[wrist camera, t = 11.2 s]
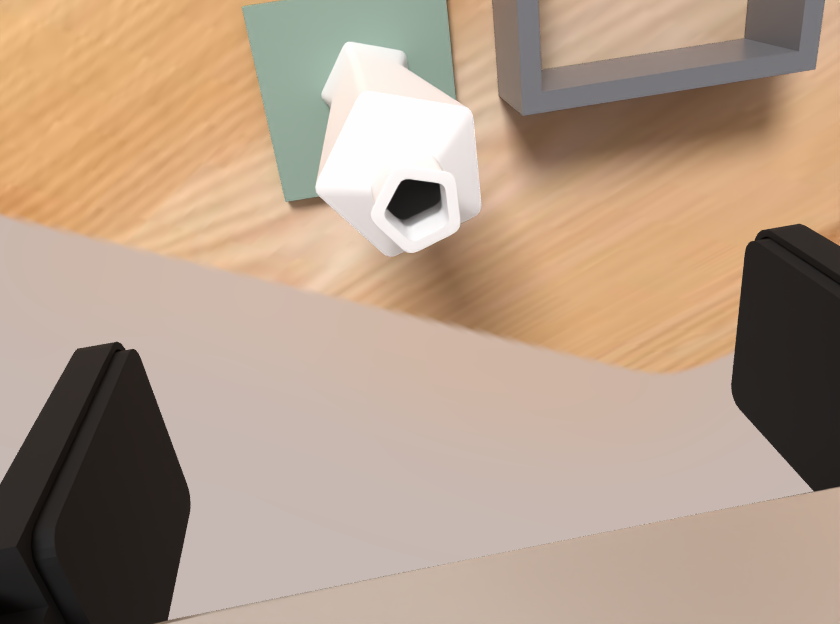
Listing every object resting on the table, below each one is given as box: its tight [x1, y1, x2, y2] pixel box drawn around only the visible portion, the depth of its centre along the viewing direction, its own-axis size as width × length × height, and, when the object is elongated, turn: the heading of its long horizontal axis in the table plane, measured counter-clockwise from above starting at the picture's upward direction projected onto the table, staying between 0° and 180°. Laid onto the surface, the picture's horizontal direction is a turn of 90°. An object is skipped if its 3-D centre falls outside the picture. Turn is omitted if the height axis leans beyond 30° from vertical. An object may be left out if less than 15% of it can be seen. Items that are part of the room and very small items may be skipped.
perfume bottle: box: [315, 42, 481, 257], centre depth 23 cm, size 5×4×15 cm
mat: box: [242, 0, 456, 202], centre depth 30 cm, size 8×8×1 cm
